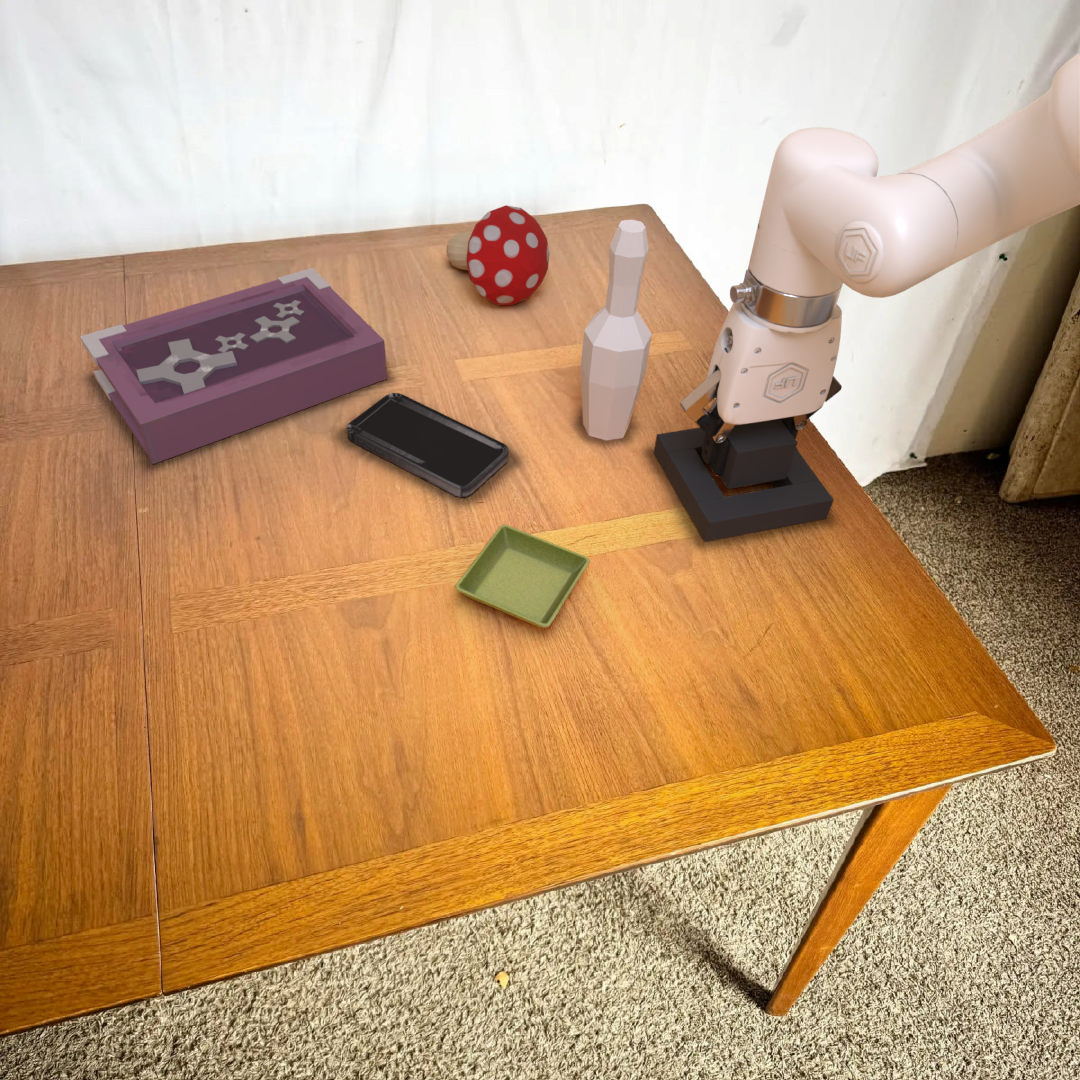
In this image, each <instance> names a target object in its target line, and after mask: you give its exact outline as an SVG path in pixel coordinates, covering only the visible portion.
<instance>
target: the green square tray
mask: <svg viewBox="0 0 1080 1080" xmlns="http://www.w3.org/2000/svg"><path fill="white" fill-rule="evenodd" d="M590 563H591V559H590V558H589V557H587V556H586V555H584V554H581V553H578V552H576V551H573V550H571V549H569V548H566V547H563V546H561V545H559V544H555V543H553V542H551V541H548V540H546V539H543V538H541V537H538V536H536V535H533V534H531V533H528V532H526V531H524V530H520V529H518V528H515V527H513V526H510V525H508V524H502V525H500V526H498V528H497V529H496V531H495V532H494V534H493V535H492V536H491V538H490V539H489V540H488V541H487V543H486V545H484V547H483V549H482V550H481V551H480V553H479V554H478V555H477V556H476V558H475V560H474V561H473V562H472V563H471V564H470V566H469V567H468V569H466V571H465V572H464V573H463V575H462V576H461V578H460V579H459V580H458V581H457V583H456V584H455V586H454V587H455V590H456V591H458V592H459V593H460V594H461V595H464V596H465V597H467V598H469V599H472V600H474V601H476V602H479V603H481V604H483V605H485V606H488V607H491V608H492V609H495V610H497V611H500V612H502V613H505V614H507V615H510V616H512V617H514V618H517V619H518V620H521V621H523V622H525V623H528V624H530V625H533V626H535V627H538V628H541V629H546V628H549V627H550V626H551V625H552V623H553V622H554V620H555V618H556V616H557V615H558V613H559V612H560V610H561V609H562V607H563V606H564V604H565V603H566V601H567V599H568V598H569V596H570V594H571V593H572V591H573V590H574V588H575V586H576V584H577V583H578V582H579V580H580V579H581V577H582V575H583V574H584V572H585V570H586V569H587V567H588V566H589V564H590Z"/></svg>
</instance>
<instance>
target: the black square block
mask: <svg viewBox="0 0 1080 1080" xmlns="http://www.w3.org/2000/svg"><path fill="white" fill-rule="evenodd" d="M718 421H719V422H720V423H721V421H722V418H721V417H720V418H719V420H718ZM705 434H706V433H705ZM704 438H705V437H704ZM727 440H728V441H729V443H730V446H729V450H728V454H727V458H726V462H725V465H724V469H723V473H722V475H718V476H719V477H720V479H721V480H722V482H723V483H724V485H725V487H726V488H727V490H731V489H737V488H741V487H742V488H743V487H748V486H752V485H753V486H754V485H760V484H765V483H770V482H772V481H776V480H782V479H786V477H787V474H788V471H789V468H790V464H791V461H792V458H793V455H794V452H795V449H797V445H798V441H797V439H795V438H794V437H793V435H792V434H791V433H790V431H789V430H788V429H787V427H786V426H785V425H784V423H783V422H782V421H781V419H774V420H768V421H762V422H755V423H749V424H741V425H735V426H734V428H733V429H732V431H731V432H730V434H729V435H728V437H727ZM703 443H704V442H703ZM702 447H703V446H702Z"/></svg>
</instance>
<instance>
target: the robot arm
mask: <svg viewBox="0 0 1080 1080" xmlns="http://www.w3.org/2000/svg"><path fill="white" fill-rule="evenodd" d="M878 172H879V158H878V155H877V152H876V150H875V149H874V148H873V146H872V145H871V144H870V143H869V142H868V141H867V140H865V139H864V138H863V137H860V136H858V135H856V134H854V133H851V132H848V131H845V130H842V129H837V128H832V127H823V126H822V127H818V126H817V127H815V126H814V127H813V126H812V127H804V128H800V129H797V130H795V131H793V132H791V133H789V134H787V135H786V136H785V137H784V138H783V139H782V140H781V142H780V143H779V144H778V146H777V148H776V150H775V153H774V156H773V159H772V162H771V167H770V171H769V176H768V180H767V184H766V188H765V193H764V198H763V201H762V206H761V209H760V214H759V217H758V218H759V219H758V223H757V226H756V227H757V228H756V231H755V236H754V240H753V245H752V249H751V253H750V257H749V261H748V267H747V269H746V270H745V273H744V278H743V282H740V283H739V284H737V285H736V284H735V285H732V286H731V287H730V289H729V298H730V301H731V302H732V305H731V307H730V308H729V311H728V312H727V315H726V317H725V319H724V321H723V324H722V327H721V329H720V331H719V335H718V337H717V340H716V343H715V346H714V349H713V352H712V355H711V359H710V362H709V366H708V370H707V375H706V379H705V380H703V381H702V382H701V384H699V385H698V386H697V387H696V388H695V389H694V390H692V391H691V392H690V393H688V394H687V396H686V397H684V398H683V400H681V401H680V402H679V407H680V408H681V409H680V410H682V412H683V414H684V415H685V417H686V418H688V419H689V420H691V421H692V422H693V423H695V424H696V425H697V426H698V428H699V427H700V428H701V429H702V430H703V431H705V432H706V434H705V438H704V443H703V447H702V452H701V453H702V458H703V460H704V462H705V463H706V464H705V465H708V467H709V468H710V470H711V471H712V473H713V475H714V476H716V477H717V476H719V475H722V473H723V469H724V465H725V462H726V458H727V454H728V450H729V446H730V443H729V441H728V440H727V437H728V435H729V434H730V432H731V431H732V429H733V428H734V426H735V425H741V424H749V423H755V422H762V421H768V420H774V419H781V421H782V422H783V423H784V425H785V426H786V427H787V429H788V430H789V431H790V433H791V434H792V435H793V437H794V438H795V440H797V436H798V433H799V431H802V430H804V429H805V428H806V427H807V425H808V420H809V419H810V418H811V417H812V416H814V415H815V414H816V413H817V412H818V411H820V410H821V409H822V408H823V406H824V404H825V403H827V402H828V401H829V400H830V399H832V398H834V396H836V395H837V394H839V392H840V391H841V390H842V387H843V386H842V384H841V383H840V381H838V379H837V378H836V377H835V376H834V374H835V369H836V366H837V361H838V355H839V350H840V345H841V336H842V323H843V322H842V321H843V319H842V318H843V311H842V308H841V306H839V304H837V303H838V301H839V297H840V294H841V291H842V288H843V284H844V285H845V286H847V287H848V288H849V289H850V290H852V291H854V292H856V293H859V294H860V295H862V296H865V297H869V298H878V299H882V298H889V297H893V296H896V295H899V294H901V293H903V292H905V291H907V290H909V289H912V288H913V287H915V286H917V285H918V284H920V283H922V282H925V281H926V280H928V279H929V278H931V277H934V276H935V275H937V274H938V273H940V272H942V271H944V270H945V269H948V268H949V267H951V266H953V265H955V264H957V263H958V262H960V261H962V260H965V259H966V258H969V257H971V256H972V255H975V254H977V253H978V252H980V251H983V250H984V249H986V248H988V247H990V246H992V245H994V244H997V243H998V242H1000V241H1002V240H1005V239H1007V238H1008V237H1011V236H1013V235H1015V234H1018V233H1020V232H1022V231H1025V230H1026V229H1028V228H1031V227H1032V226H1035V225H1037V224H1039V223H1041V222H1043V221H1045V220H1047V219H1049V218H1052V217H1054V216H1056V215H1058V214H1062V213H1063V212H1065V211H1067V210H1070V209H1073V208H1075V207H1077V206H1079V205H1080V52H1078V53H1077V54H1076V55H1074V56H1072V57H1071V58H1069V60H1067V61H1066V62H1065V63H1064V64H1062V66H1060V67H1059V69H1057V71H1056V72H1055V73H1054V76H1053V79H1052V82H1051V86H1050V88H1049V89H1048V90H1046V92H1045V93H1043V94H1042V95H1041V96H1039V97H1038V98H1037V99H1034V100H1033V101H1032V102H1030V103H1029V104H1027V105H1026V106H1024V107H1022V108H1021V109H1019V110H1018V111H1016V112H1014V113H1013V114H1011V115H1010V116H1008V117H1006V118H1004V119H1002V120H1000V121H999V122H997V123H996V124H994V125H992V126H991V127H989V128H987V129H985V130H984V131H982V132H980V133H979V134H977V135H975V136H973V137H971V138H970V139H968V140H966V141H965V142H963V143H961V144H959V145H957V146H956V147H953V148H951V149H950V150H948V151H946V152H944V153H942V154H940V155H937V156H935V157H933V158H931V159H928V160H925V161H923V162H920V163H918V164H916V165H914V166H912V167H909V168H907V169H905V170H902V171H901V172H898V173H896V174H890V175H879V176H878ZM713 400H714V401H713ZM712 401H713V402H712ZM710 402H712V404H711V405H710V407H709V409H708V410H707V409H705V408H706V406H708V405H709V403H710ZM720 417H721V418H722V421H721V423H720V422H719V421H718V420H719V418H720Z"/></svg>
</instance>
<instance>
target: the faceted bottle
mask: <svg viewBox="0 0 1080 1080" xmlns="http://www.w3.org/2000/svg"><path fill="white" fill-rule="evenodd" d="M608 248H609V249H608V251H609V252H608V254H609V255H608V281H607V291H606V300H605V304H604V306H602V307H601V308H600V310H598V311H597V312H596V313H595V314H594V315H593V316H592V317H591V318H590V320H589V322H588V324H587V325H586V326H585V328H584V330H583V339H582V346H581V347H582V349H581V359H580V387H581V410H582V411H581V412H582V426H583V427H584V429H585V431H586V433H587V435H588V436H589V437H592V438H596V439H599V440H603V441H612V440H618V439H623V438H624V437H625V435H626V433H627V431H628V430H629V426H630V423H631V421H632V417H633V414H634V411H635V407H636V404H637V401H638V398H639V395H640V392H641V389H642V385H643V382H644V378H645V375H646V372H647V366H648V361H649V354H650V348H651V344H652V343H651V341H652V336H653V334H652V332H651V331H650V329H649V327H648V326H647V324H646V323H645V321H644V319H643V317H642V316H641V314H640V312H638V306H639V305H638V304H639V299H640V298H639V297H640V291H641V283H642V279H643V274H644V271H645V266H646V262H647V258H648V255H649V250H650V248H649V240H648V233H647V227H646V225H644V223H643V222H642V221H640V220H636V219H624V220H623V219H622V220H621V221H620V222H619V224H618V226H617V228H616V230H615V232H614V234H613V236H612V240H611V242H610V244H609V247H608Z"/></svg>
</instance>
